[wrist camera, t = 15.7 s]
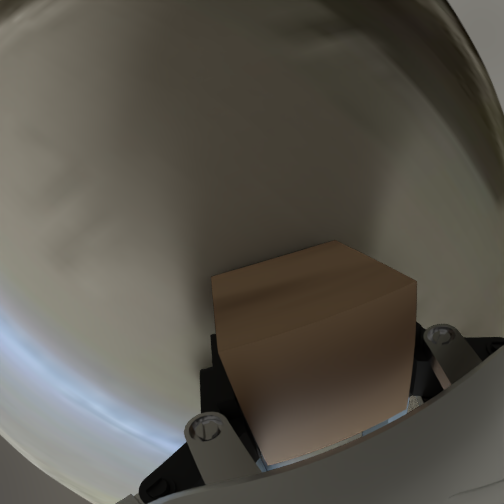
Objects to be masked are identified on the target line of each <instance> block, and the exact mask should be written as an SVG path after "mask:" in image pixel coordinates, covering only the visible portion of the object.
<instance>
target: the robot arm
mask: <svg viewBox="0 0 504 504" xmlns="http://www.w3.org/2000/svg"><path fill="white" fill-rule="evenodd" d="M211 350H212V363H213V367H210V368H206V369H202V370H200V396H201V414H198V415H197V416H195V417H193V418H192V419H191V420H190V421H189V422H188V423H187V425H186V426H185V430H184V435H185V438H186V441H187V442H186V443H185V444H184V445H183V446H182V447H180V448H179V449H178V450H177V451H176V452H175V453H174V454H173V455H172V456H171V457H169V458H168V459H167V460H166V461H165V462H164V463H163V464H162V465H160V466H159V467H158V468H157V469H156V470H155V471H153V472H152V473H151V474H150V475H149V476H148V477H146V478H145V479H144V480H143V482H142V483H141V485H140V487H139V493H138V494H136V495H135V496H133V495H132V494H130V495H129V496H127V497H125V498H124V499H122V500H121V501H119V502H117V503H116V504H504V338H502V337H481V338H464V337H463V336H462V335H461V334H460V332H459V331H458V330H457V329H456V328H455V327H453V326H451V325H448V324H437V325H433V326H431V327H429V328H428V329H426V330H425V329H424V328H423V327H421V325H420V324H419V323H417V322H416V333H415V347H414V358H413V367H412V376H411V383H410V390H409V397H410V396H412V395H413V396H416V399H417V402H418V404H419V407H417V408H415V409H414V410H412V411H410V412H409V413H407V414H405V415H403V416H402V417H400V418H398V419H396V420H394V421H392V422H391V423H389V424H387V425H385V426H383V427H381V428H379V429H377V430H375V431H373V432H371V433H369V434H367V435H365V436H362V437H360V438H358V439H356V440H354V441H351V442H349V443H347V444H344V445H342V446H340V447H337V448H335V449H332V450H330V451H327V452H325V453H322V454H319V455H317V456H314V457H311V458H308V459H305V460H302V461H299V462H296V463H293V464H290V465H287V466H283V467H280V468H276V469H273V470H269V471H266V472H261V470H260V469H259V467H258V466H257V465H256V462H257V461H258V460H259V458H262V456H261V452H260V448H259V446H258V444H257V442H256V440H255V438H254V436H253V433H252V431H251V429H250V427H249V425H248V422H247V420H246V418H245V416H244V413H243V411H242V409H241V407H240V404H239V402H238V400H237V397H236V395H235V393H234V390H233V388H232V385H231V383H230V381H229V378H228V376H227V373H226V371H225V368H224V366H223V363H222V361H221V358H220V356H219V353H218V347H217V337H216V334H212V335H211ZM409 397H408V398H409Z"/></svg>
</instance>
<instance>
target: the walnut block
mask: <svg viewBox="0 0 504 504" xmlns="http://www.w3.org/2000/svg"><path fill="white" fill-rule="evenodd" d="M211 283H212V295H213V306H214V317H215V327H216V337H217V347H218V353H219V356H220V358H221V361H222V363H223V366H224V368H225V371H226V373H227V376H228V378H229V381H230V383H231V385H232V388H233V390H234V393H235V395H236V397H237V400H238V402H239V404H240V407H241V409H242V411H243V413H244V416H245V418H246V420H247V422H248V425H249V427H250V429H251V431H252V433H253V436H254V438H255V440H256V442H257V444H258V446H259V448H260V450H261V453H262V455H263V457H264V459H265V461H266V463H267V465H268V466H269V465H272V464H276V463H280V462H283V461H286V460H290V459H293V458H296V457H299V456H302V455H305V454H308V453H311V452H314V451H317V450H319V449H322V448H325V447H327V446H330V445H332V444H335V443H337V442H340V441H342V440H345V439H347V438H349V437H352V436H354V435H356V434H358V433H361V432H363V431H365V430H367V429H369V428H371V427H373V426H375V425H377V424H379V423H381V422H383V421H385V420H387V419H389V418H391V417H393V416H395V415H397V414H398V413H400V412H402V411H404V410H406V408H407V403H408V397H409V390H410V383H411V376H412V367H413V358H414V347H415V333H416V310H417V281H415V280H413V279H412V278H410V277H408V276H406V275H404V274H402V273H400V272H398V271H396V270H394V269H392V268H390V267H388V266H387V265H385V264H383V263H381V262H379V261H377V260H375V259H373V258H371V257H369V256H367V255H365V254H363V253H361V252H359V251H357V250H355V249H353V248H350V247H348V246H346V245H344V244H342V243H340V242H338V241H336V240H334V241H330V242H327V243H324V244H320V245H317V246H314V247H310V248H307V249H304V250H300V251H297V252H294V253H290V254H287V255H284V256H280V257H277V258H273V259H270V260H267V261H263V262H260V263H256V264H253V265H250V266H246V267H243V268H239V269H236V270H232V271H229V272H226V273H222V274H219V275H215V276H212V277H211Z"/></svg>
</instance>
